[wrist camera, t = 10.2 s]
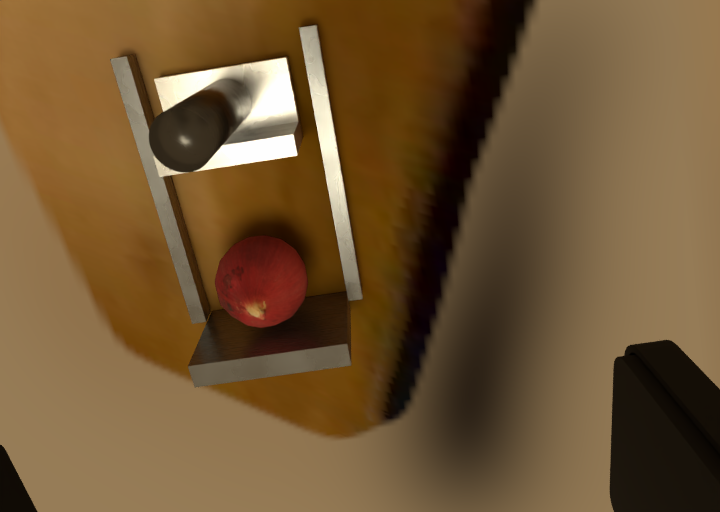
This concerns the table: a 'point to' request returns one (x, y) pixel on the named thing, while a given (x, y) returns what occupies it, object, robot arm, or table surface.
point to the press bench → (222, 332)
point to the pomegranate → (261, 281)
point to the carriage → (225, 117)
